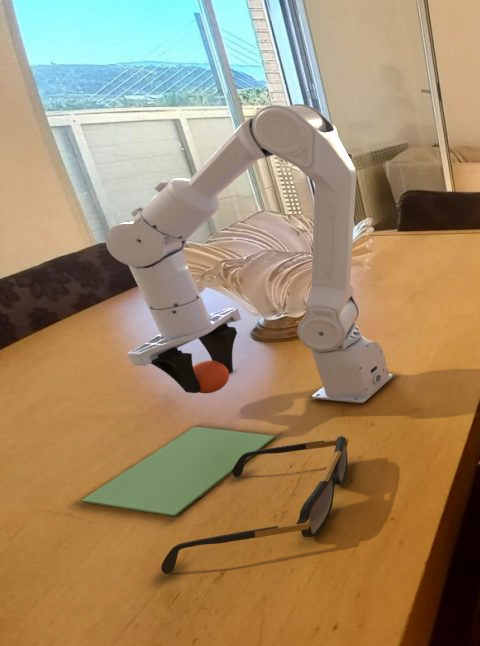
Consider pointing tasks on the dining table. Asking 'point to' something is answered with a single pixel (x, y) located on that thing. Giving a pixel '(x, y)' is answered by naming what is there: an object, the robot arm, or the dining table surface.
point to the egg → (211, 376)
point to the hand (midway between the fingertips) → (210, 381)
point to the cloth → (179, 471)
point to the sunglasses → (311, 512)
